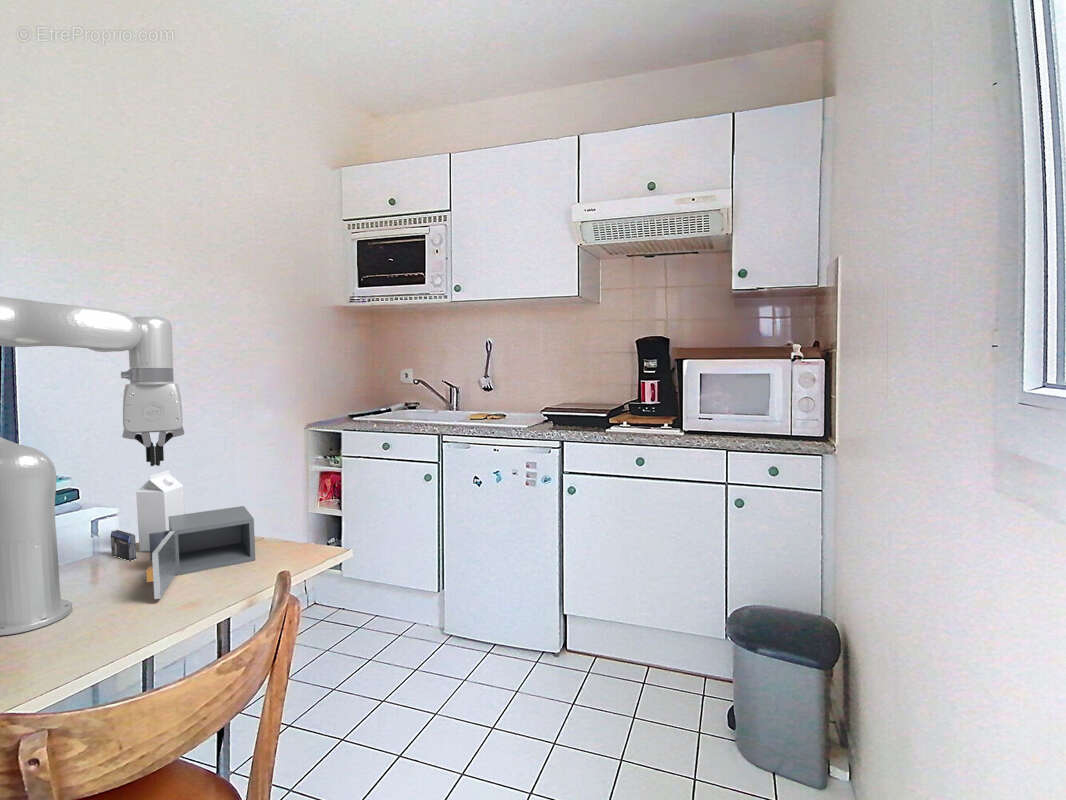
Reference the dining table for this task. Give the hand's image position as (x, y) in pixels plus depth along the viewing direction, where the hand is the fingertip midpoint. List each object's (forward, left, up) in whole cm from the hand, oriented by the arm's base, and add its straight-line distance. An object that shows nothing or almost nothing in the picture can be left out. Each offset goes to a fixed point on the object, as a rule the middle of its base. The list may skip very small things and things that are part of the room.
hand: (155, 464), depth 118 cm
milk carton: (+1, +26, -25) cm, 36 cm away
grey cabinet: (+8, +9, -25) cm, 28 cm away
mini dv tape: (-7, +23, -25) cm, 35 cm away
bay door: (0, -6, -24) cm, 25 cm away
